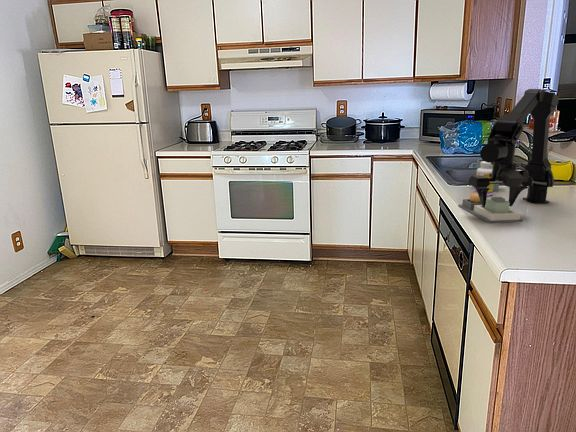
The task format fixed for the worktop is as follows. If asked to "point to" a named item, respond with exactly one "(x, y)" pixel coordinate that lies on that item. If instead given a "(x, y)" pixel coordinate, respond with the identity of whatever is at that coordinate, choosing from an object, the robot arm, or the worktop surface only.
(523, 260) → the worktop surface
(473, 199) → the click button
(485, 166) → the supplement bottle
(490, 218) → the chassis
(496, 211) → the pale green block
